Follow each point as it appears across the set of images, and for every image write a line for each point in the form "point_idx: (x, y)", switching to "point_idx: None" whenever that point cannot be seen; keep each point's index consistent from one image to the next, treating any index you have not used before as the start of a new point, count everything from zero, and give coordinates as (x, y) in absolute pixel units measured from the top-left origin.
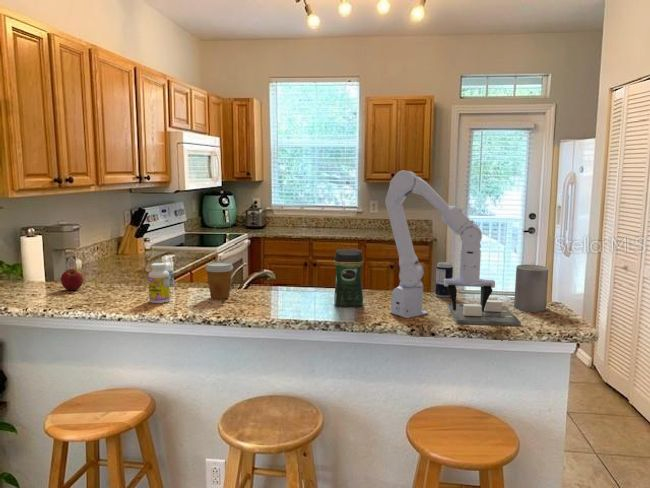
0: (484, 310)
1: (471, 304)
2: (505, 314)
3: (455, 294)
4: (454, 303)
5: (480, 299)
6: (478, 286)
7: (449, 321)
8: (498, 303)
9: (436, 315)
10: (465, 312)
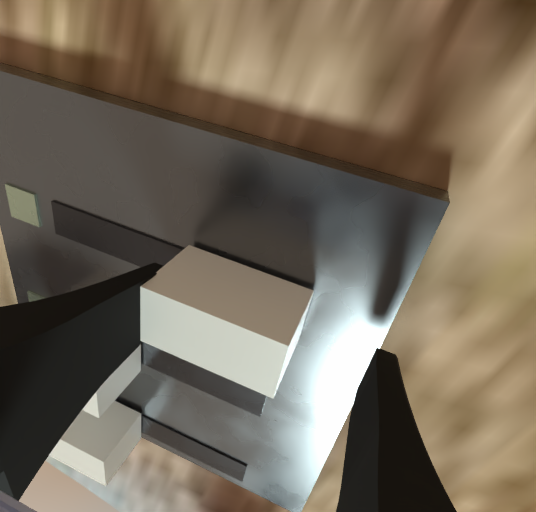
0: (139, 345)
1: (211, 359)
2: (42, 256)
3: (395, 501)
4: (397, 400)
5: (118, 456)
6: (2, 498)
7: (481, 256)
8: None
9: (490, 412)
10: (298, 303)
